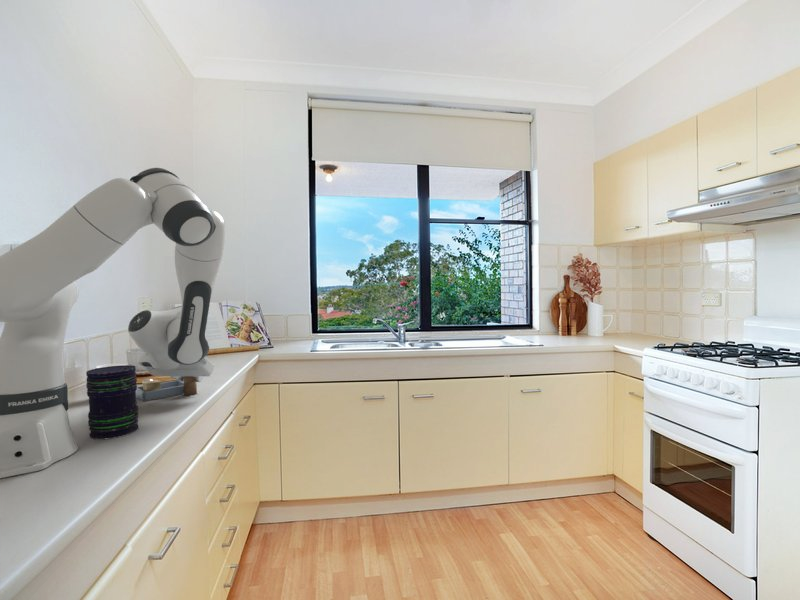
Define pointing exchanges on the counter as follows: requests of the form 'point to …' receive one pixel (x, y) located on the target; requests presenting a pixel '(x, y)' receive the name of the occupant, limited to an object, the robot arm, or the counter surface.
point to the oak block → (151, 385)
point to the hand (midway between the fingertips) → (191, 380)
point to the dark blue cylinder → (112, 401)
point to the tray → (161, 391)
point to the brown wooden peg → (189, 386)
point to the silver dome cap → (147, 380)
